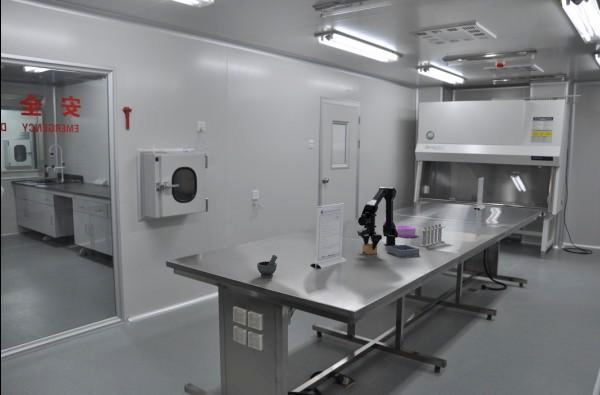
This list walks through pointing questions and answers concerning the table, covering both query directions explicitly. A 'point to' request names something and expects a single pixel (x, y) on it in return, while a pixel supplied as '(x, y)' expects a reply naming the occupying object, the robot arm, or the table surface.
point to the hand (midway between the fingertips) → (369, 248)
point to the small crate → (369, 249)
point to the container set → (405, 230)
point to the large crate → (403, 250)
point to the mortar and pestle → (267, 267)
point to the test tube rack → (432, 235)
